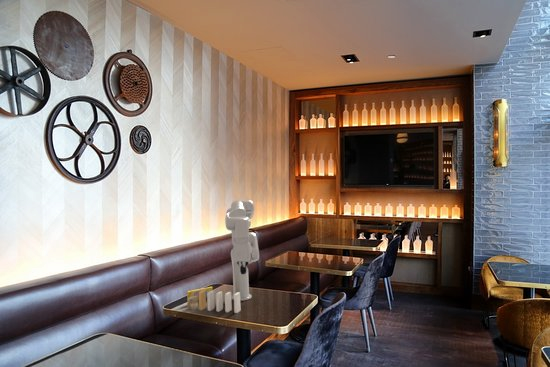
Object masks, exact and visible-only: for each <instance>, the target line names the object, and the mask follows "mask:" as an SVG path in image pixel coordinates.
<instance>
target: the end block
mask: <svg viewBox="0 0 550 367" xmlns="http://www.w3.org/2000/svg"><path fill="white" fill-rule="evenodd" d="M197 308H199V303H198V297H197V296H192V297H190V298H188V305H187V310H190V311H192V310H194V309H197Z"/></svg>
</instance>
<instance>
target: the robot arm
mask: <svg viewBox="0 0 550 367" xmlns="http://www.w3.org/2000/svg"><path fill="white" fill-rule="evenodd" d="M254 212H255V204H254V201H252V200H250V199H244V200H243V199H242V200H241V199H240V200H239V199H238V200H235V201H233V202H232V203H231V204H230V207H229V208H227V210H226V214H225V219H224V221H225V222H224V223H225V228H226V230H228V231H231V232H230V233H231V241H232V242H231V243H232V246H233V247H232V248H231V251H230V258H231V264H232V283H233V294H231V300H232V301H234V294H236V293H237V292H240V302H242V301H248V300H251V299H252V294H250V289H249V288H250V284H249V281H250V280H249V268H248V267H247V266H248V265H250V264H252V263H253V262H257V261H258V260H259V259H260V249H259V242H258V236H257V234H256V233H255V232H252V231H250V230H249V229H250V228H251V224H252V222H251V220H252V219H253V218H254ZM249 231H250V232H249Z"/></svg>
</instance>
